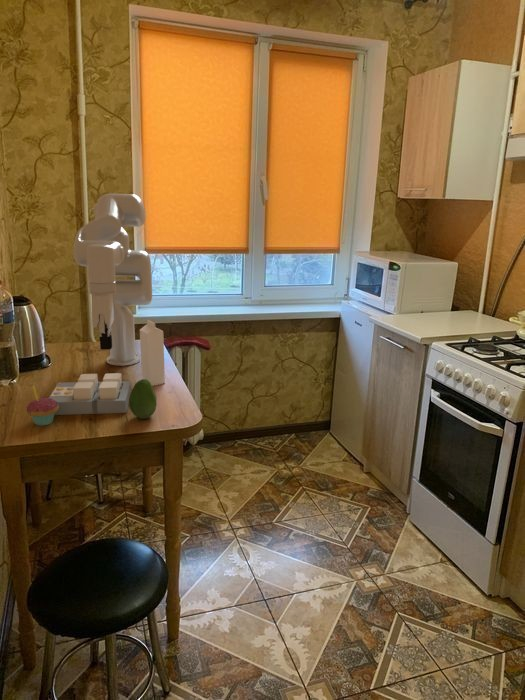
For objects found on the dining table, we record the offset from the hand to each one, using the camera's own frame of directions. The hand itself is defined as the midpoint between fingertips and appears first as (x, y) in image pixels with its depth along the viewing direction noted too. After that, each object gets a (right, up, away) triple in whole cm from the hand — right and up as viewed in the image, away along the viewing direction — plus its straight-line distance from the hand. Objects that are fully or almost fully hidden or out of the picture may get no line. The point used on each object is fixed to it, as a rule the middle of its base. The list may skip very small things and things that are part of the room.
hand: (106, 348), depth 158 cm
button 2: (-8, -16, +4) cm, 18 cm away
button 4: (0, -16, +5) cm, 17 cm away
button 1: (-9, -14, +11) cm, 20 cm away
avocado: (+11, -21, -1) cm, 24 cm away
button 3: (-1, -14, +12) cm, 18 cm away
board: (-7, -17, +8) cm, 20 cm away
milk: (+8, -12, +27) cm, 31 cm away
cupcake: (-16, -21, -5) cm, 28 cm away
